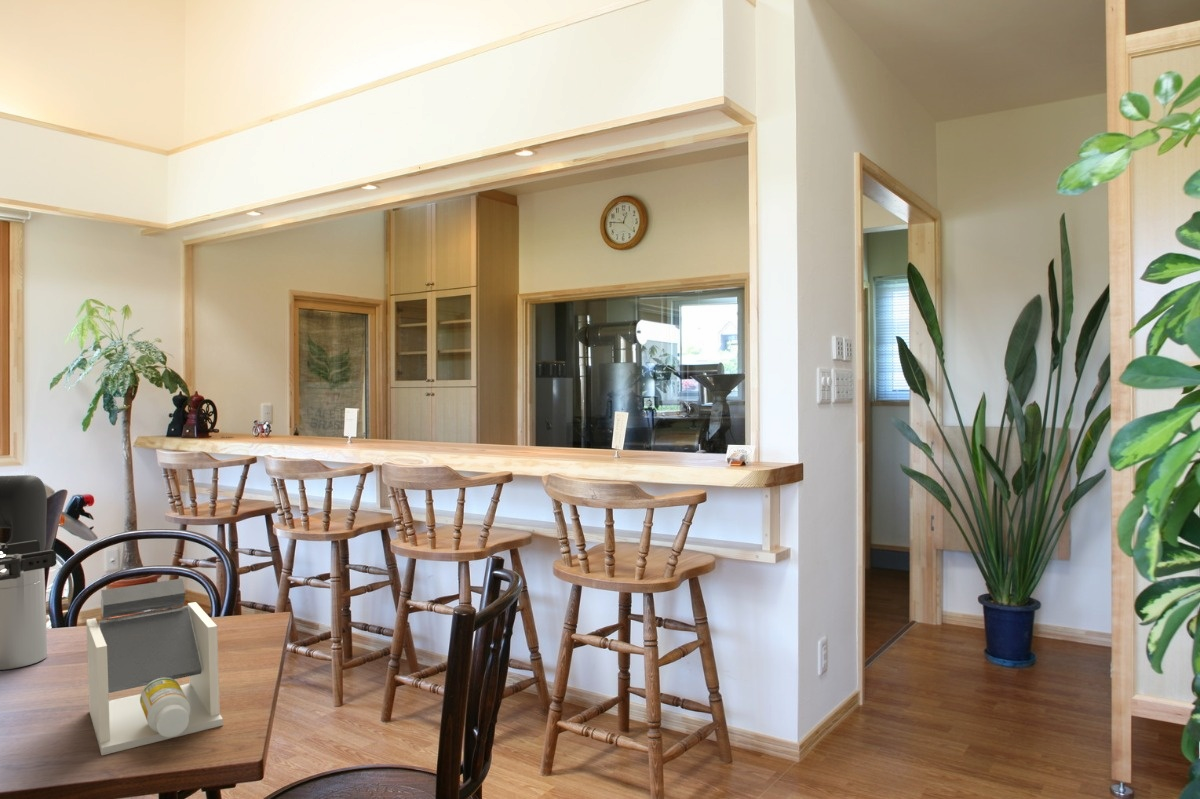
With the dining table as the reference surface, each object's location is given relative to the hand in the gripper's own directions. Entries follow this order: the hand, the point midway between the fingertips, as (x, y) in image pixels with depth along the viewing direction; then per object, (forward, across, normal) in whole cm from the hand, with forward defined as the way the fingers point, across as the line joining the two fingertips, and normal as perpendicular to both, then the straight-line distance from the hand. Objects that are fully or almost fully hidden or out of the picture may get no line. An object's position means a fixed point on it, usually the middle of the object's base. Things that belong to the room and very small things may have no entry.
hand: (47, 552), depth 113 cm
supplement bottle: (+12, -6, +22) cm, 26 cm away
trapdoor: (+12, 0, +16) cm, 20 cm away
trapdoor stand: (+12, -3, +26) cm, 29 cm away
